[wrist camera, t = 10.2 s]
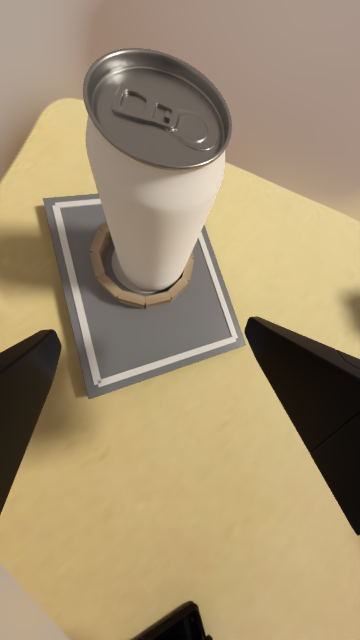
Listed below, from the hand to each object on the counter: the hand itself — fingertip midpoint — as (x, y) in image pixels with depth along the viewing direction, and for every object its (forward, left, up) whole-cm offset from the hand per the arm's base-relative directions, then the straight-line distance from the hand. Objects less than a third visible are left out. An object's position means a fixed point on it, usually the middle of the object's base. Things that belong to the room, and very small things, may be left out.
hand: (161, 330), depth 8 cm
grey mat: (+1, +7, -10) cm, 12 cm away
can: (+2, +8, -9) cm, 12 cm away
